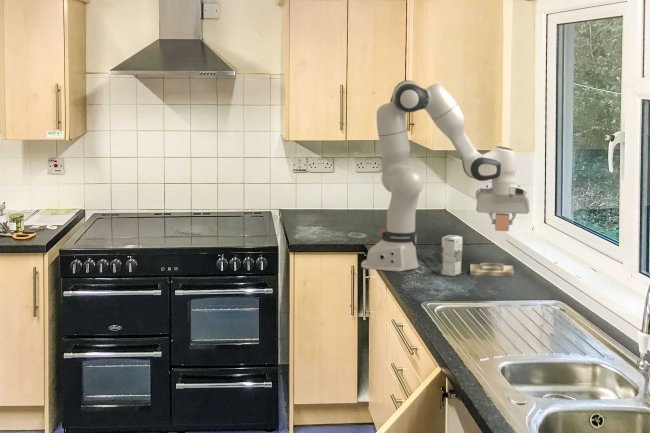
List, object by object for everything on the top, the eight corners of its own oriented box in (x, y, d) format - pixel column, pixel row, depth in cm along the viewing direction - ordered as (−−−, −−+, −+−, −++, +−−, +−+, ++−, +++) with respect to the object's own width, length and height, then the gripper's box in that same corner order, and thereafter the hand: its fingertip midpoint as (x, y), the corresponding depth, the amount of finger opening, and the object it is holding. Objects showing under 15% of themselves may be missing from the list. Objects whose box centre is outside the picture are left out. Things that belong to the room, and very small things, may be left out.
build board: (470, 274, 330) (470, 268, 329) (470, 267, 342) (470, 261, 341) (513, 276, 327) (513, 270, 327) (512, 269, 339) (512, 263, 338)
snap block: (495, 230, 338) (495, 215, 337) (495, 228, 343) (495, 213, 342) (508, 231, 338) (509, 215, 337) (508, 228, 342) (508, 213, 342)
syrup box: (448, 271, 335) (449, 234, 333) (461, 274, 331) (462, 236, 329) (440, 274, 331) (441, 236, 328) (454, 276, 327) (454, 238, 325)
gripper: (475, 189, 336) (474, 224, 339) (530, 190, 333) (529, 226, 335) (475, 187, 343) (474, 222, 345) (529, 188, 339) (528, 223, 341)
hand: (502, 224), depth 340 cm, fingers closed on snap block, 5 cm apart
